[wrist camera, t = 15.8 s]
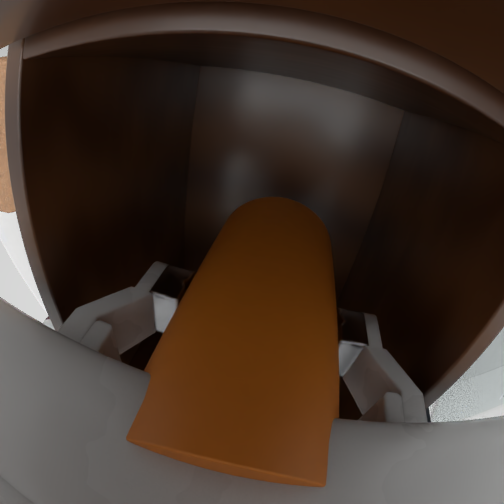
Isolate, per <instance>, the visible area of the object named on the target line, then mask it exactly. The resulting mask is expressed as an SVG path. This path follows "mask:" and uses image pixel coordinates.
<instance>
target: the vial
mask: <svg viewBox="0 0 504 504" xmlns="http://www.w3.org/2000/svg"><path fill="white" fill-rule="evenodd" d="M144 371H145V372H148V373H149V374H150V376H151V378H150V382H149V385H148V388H147V392H146V395H145V398H144V400H143V402H142V405H141V407H140V409H139V411H138V413H137V415H136V417H135V419H134V421H133V423H132V426H131V428H130V430H129V432H128V434H127V436H126V440H127V441H129V442H131V443H133V444H135V445H138V446H140V447H143V448H145V449H148V450H150V451H153V452H155V453H158V454H161V455H164V456H167V457H169V458H172V459H175V460H178V461H181V462H185V463H188V464H191V465H195V466H198V467H202V468H205V469H209V470H213V471H217V472H221V473H225V474H229V475H234V476H239V477H244V478H249V479H254V480H260V481H266V482H273V483H280V484H289V485H298V486H310V487H325V485H326V478H327V465H328V450H329V439H330V433H331V427H332V422H333V420H334V419H335V418H339V347H338V324H337V307H336V292H335V280H334V268H333V258H332V248H331V241H330V236H329V233H328V230H327V228H326V226H325V225H324V223H323V222H322V220H321V219H320V218H319V217H318V216H317V215H316V213H314V212H313V211H312V210H311V209H309V208H308V207H306V206H305V205H303V204H301V203H299V202H297V201H294V200H291V199H288V198H282V197H263V198H258V199H254V200H251V201H249V202H247V203H245V204H243V205H241V206H240V207H238V208H237V209H236V210H235V211H234V212H233V213H232V214H231V215H230V216H229V218H228V219H227V221H226V222H225V224H224V226H223V227H222V229H221V231H220V233H219V234H218V236H217V238H216V239H215V241H214V243H213V245H212V246H211V248H210V250H209V252H208V253H207V255H206V257H205V259H204V260H203V262H202V264H201V266H200V267H199V269H198V271H197V273H196V274H195V276H194V278H193V280H192V282H191V283H190V285H189V287H188V289H187V291H186V292H185V294H184V296H183V298H182V300H181V301H180V303H179V305H178V307H177V309H176V311H175V312H174V314H173V316H172V318H171V320H170V322H169V324H168V325H167V327H166V329H165V331H164V333H163V335H162V337H161V339H160V340H159V342H158V344H157V346H156V348H155V350H154V352H153V354H152V356H151V358H150V360H149V362H148V363H147V365H146V367H145V369H144Z"/></svg>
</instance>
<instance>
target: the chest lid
mask: <svg viewBox="0 0 504 504" xmlns="http://www.w3.org/2000/svg"><path fill="white" fill-rule="evenodd" d="M193 1H228V2H247V3H259V4H269V5H277V6H284V7H291V8H297V9H303V10H308V11H313V12H318V13H323V14H327V15H331V16H335V17H339V18H343V19H347V20H350V21H354V22H357V23H361V24H364V25H367V26H370V27H373V28H376V29H379V30H382V31H385V32H388V33H390V34H393V35H396V36H398V37H401V38H403V39H406V40H408V41H411V42H413V43H415V44H418V45H420V46H422V47H424V48H426V49H429V50H431V51H433V52H435V53H437V54H439V55H441V56H443V57H445V58H447V59H449V60H451V61H452V62H454V63H456V64H458V65H460V66H461V67H463V68H465V69H467V70H468V71H470V72H472V73H473V74H475V75H477V76H478V77H480V78H481V79H483V80H485V81H486V82H488V83H489V84H491V85H492V86H494V87H495V88H497V89H498V90H500V91H501V92H502V93H504V0H0V49H1V48H3V47H5V46H7V45H9V44H11V43H14V42H16V41H18V40H20V39H23V38H25V37H28V36H30V35H32V34H35V33H38V32H40V31H43V30H46V29H48V28H51V27H54V26H57V25H60V24H63V23H66V22H70V21H73V20H77V19H80V18H84V17H88V16H92V15H96V14H100V13H105V12H109V11H114V10H119V9H125V8H131V7H137V6H145V5H153V4H162V3H174V2H193Z"/></svg>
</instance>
